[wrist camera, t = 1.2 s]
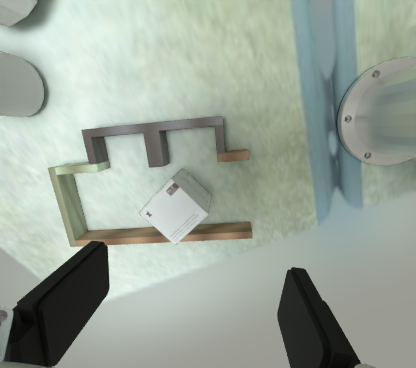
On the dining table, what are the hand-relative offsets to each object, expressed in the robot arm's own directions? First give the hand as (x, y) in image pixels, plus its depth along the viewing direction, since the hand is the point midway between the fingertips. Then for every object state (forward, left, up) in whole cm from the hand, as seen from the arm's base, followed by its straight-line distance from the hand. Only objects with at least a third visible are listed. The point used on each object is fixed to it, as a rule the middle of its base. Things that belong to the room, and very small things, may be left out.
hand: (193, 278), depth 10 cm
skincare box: (+4, +2, -20) cm, 21 cm away
